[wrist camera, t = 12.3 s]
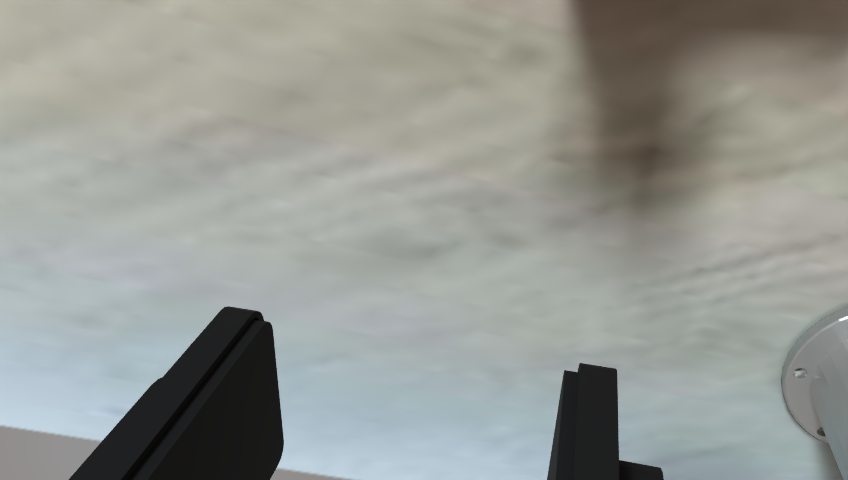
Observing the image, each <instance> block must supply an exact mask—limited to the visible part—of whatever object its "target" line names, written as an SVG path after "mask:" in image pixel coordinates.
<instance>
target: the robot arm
mask: <svg viewBox="0 0 848 480" xmlns="http://www.w3.org/2000/svg"><path fill="white" fill-rule="evenodd" d="M781 382H782V389H783V395H784V397H785V400H786V403H787V406H788V408H789V410H790V412H791V413H792V415H793V417H794V419H795V420H796V421H797V422H798V423H799V424H800V425H801V426H802V427H803V428H804V429H805V430H806V431H807V432H809V433H810V434H811V435H813V436H814V437H816V438H817V439H819V440H821V441H824V442H826V443H828V444H829V445H830V448H831V450H832V453H833V455H834V458H835V460H836V463H837V465H838V468H839V470H840V473H841V475H842V478H843V480H848V307H846V308H844V309H842V310H839V311H837V312H835V313H833V314H831V315H829V316H827V317H825V318H824V319H822V320H821V321H819V322H818V323H816V324H815V325H814V326H812V327H811V328H810V329H808V330H807V331H806V332H805V333H804V334H803V335H802V336H801V337H800V338H799V339H798V340H797V342H796V343H795V345H794V346H793V347H792V349H791V350H790V352H789V353H788V356H787V358H786V361H785V363H784V366H783V371H782V379H781ZM283 445H284V439H283V429H282V419H281V409H280V399H279V388H278V378H277V368H276V358H275V348H274V338H273V329H272V325H271V323H270V322H266V321H264V319H263V316H262V314H261V313H260V312H258V311H253V310H247V309H241V308H235V307H224V308H223V309H222V310H221V311H220V312H219V313H218V314H217V315H216V317H215V318H214V319H213V320H212V321H211V322H210V323H209V325H208V326H207V327H206V328H205V329H204V330H203V332H202V333H201V334H200V335H199V336H198V337H197V338H196V340H195V341H194V342H193V343H192V344H191V345H190V346H189V348H188V349H187V350H186V351H185V352H184V353H183V355H182V356H181V357H180V358H179V359H178V360H177V361H176V363H175V364H174V365H173V366H172V367H171V368H170V370H169V371H168V372H167V373H166V374H165V375H164V376H163V377H162V378H160V379H158V380H157V381H156V382H155V383H153V384H152V385H151V386H150V387H149V389H148V390H147V391H146V392H145V393H144V394H143V395H142V397H141V398H140V399H139V400H138V401H137V402H136V403H135V405H134V406H133V407H132V408H131V409H130V410H129V411H128V413H127V414H126V415H125V416H124V417H123V418H122V419H121V420H120V422H119V423H118V424H117V425H116V426H115V427H114V428H113V430H112V431H111V432H110V433H109V434H108V435H107V436H106V438H105V439H104V440H103V441H102V442H101V443H100V444H99V446H98V447H97V448H96V449H95V450H94V451H93V452H92V454H91V455H90V456H89V457H88V458H87V459H86V461H85V462H84V463H83V464H82V465H81V466H80V467H79V469H78V470H77V471H76V472H75V473H74V474H73V475H72V476H71V478H70V479H69V480H270V478H271V476H272V475H273V473H274V471H275V469H276V468H277V466H278V464H279V462H280V459H281V456H282V452H283ZM547 480H664V479H663V472H662V470H661V468H658V467H653V466H648V465H642V464H637V463H631V462H626V461H621V460H619V445H618V393H617V370H616V369H614V368H607V367H601V366H595V365H589V364H583V363H580V364H579V368H578V372H572V371H566V370H564V375H563V381H562V388H561V394H560V400H559V407H558V413H557V420H556V426H555V433H554V439H553V445H552V452H551V458H550V465H549V471H548V478H547Z"/></svg>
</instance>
